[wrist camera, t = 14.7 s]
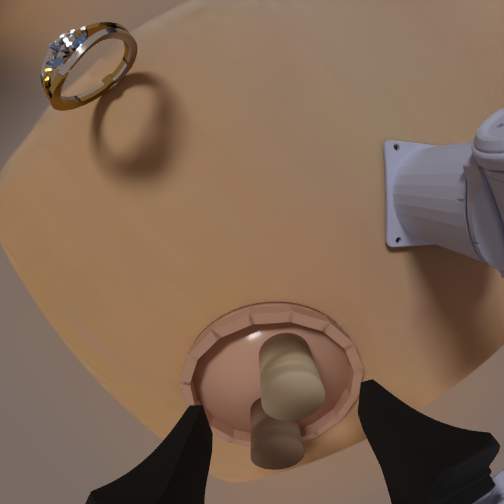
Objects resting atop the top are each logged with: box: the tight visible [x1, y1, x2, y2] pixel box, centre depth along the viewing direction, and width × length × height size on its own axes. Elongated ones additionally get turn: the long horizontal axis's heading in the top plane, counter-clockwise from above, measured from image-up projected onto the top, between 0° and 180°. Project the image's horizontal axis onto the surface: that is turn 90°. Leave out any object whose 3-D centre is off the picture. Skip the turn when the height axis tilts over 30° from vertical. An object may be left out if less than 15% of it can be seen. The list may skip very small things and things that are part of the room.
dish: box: [180, 302, 363, 447], centre depth 22 cm, size 15×15×2 cm
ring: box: [40, 22, 137, 111], centre depth 14 cm, size 7×3×8 cm, turn 123°
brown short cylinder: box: [250, 398, 304, 470], centre depth 20 cm, size 4×4×6 cm
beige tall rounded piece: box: [259, 333, 325, 421], centre depth 19 cm, size 4×4×6 cm
